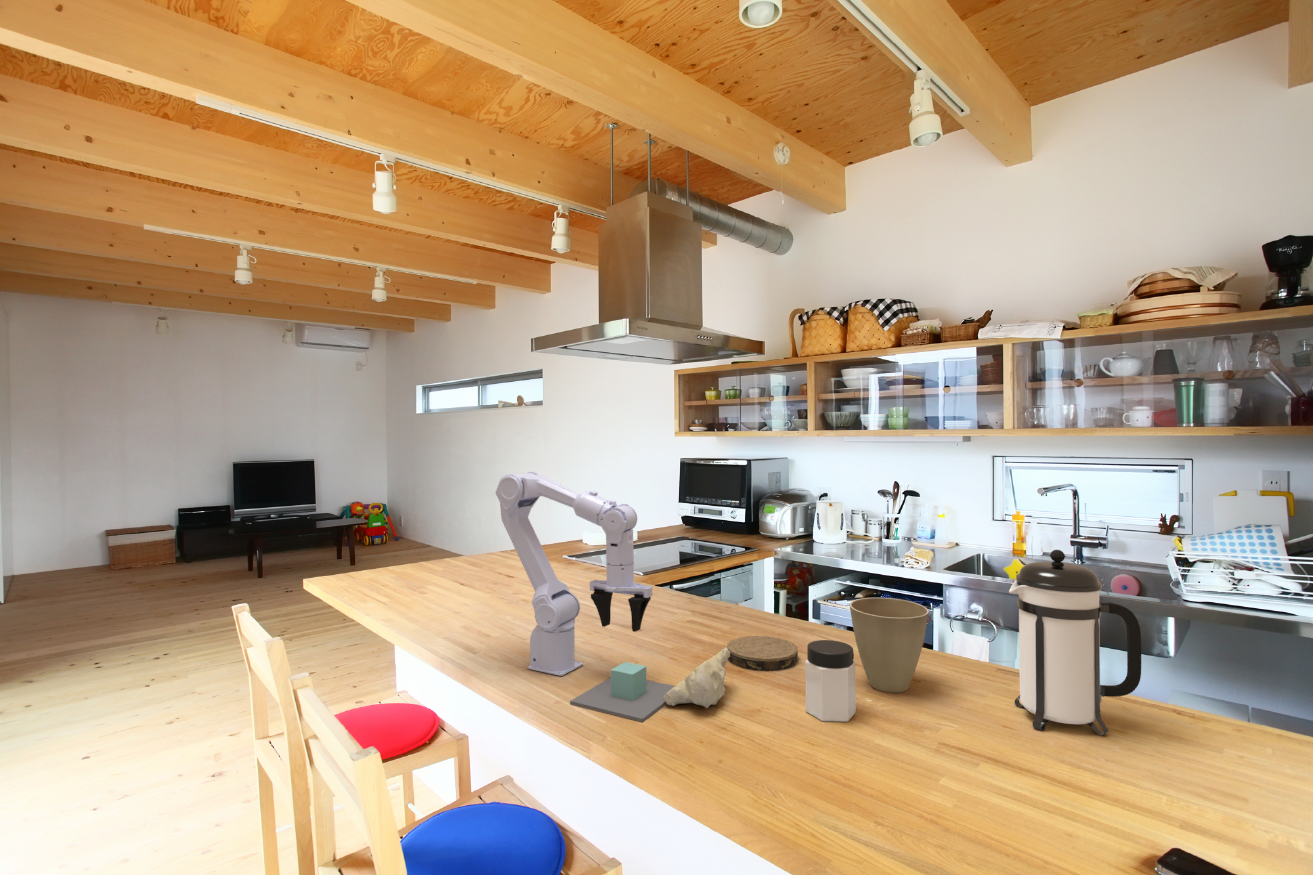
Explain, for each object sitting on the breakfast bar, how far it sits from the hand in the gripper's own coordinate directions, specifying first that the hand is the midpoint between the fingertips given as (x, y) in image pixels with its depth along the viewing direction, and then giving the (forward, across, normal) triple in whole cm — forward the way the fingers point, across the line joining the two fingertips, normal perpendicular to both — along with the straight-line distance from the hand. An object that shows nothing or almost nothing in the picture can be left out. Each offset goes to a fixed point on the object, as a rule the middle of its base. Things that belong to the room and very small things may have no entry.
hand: (620, 627), depth 134 cm
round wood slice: (+11, +22, +25) cm, 35 cm away
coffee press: (+11, +80, +21) cm, 83 cm away
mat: (+10, +7, -8) cm, 15 cm away
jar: (+11, +43, +4) cm, 44 cm away
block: (+10, +7, -8) cm, 14 cm away
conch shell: (+11, +19, -1) cm, 22 cm away
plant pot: (+11, +50, +22) cm, 56 cm away
